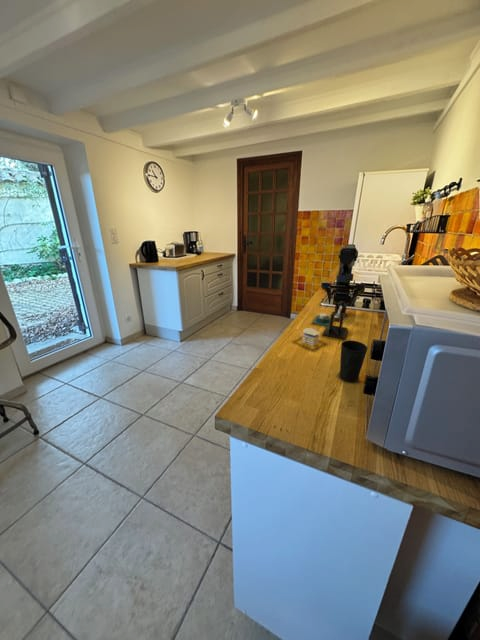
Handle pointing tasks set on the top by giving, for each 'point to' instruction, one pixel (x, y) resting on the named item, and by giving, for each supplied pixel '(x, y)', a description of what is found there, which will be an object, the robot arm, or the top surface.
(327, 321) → the button housing
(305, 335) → the stacked layers on plate
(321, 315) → the button
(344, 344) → the cup
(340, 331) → the toaster bracket
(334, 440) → the top surface
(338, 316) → the press lever
